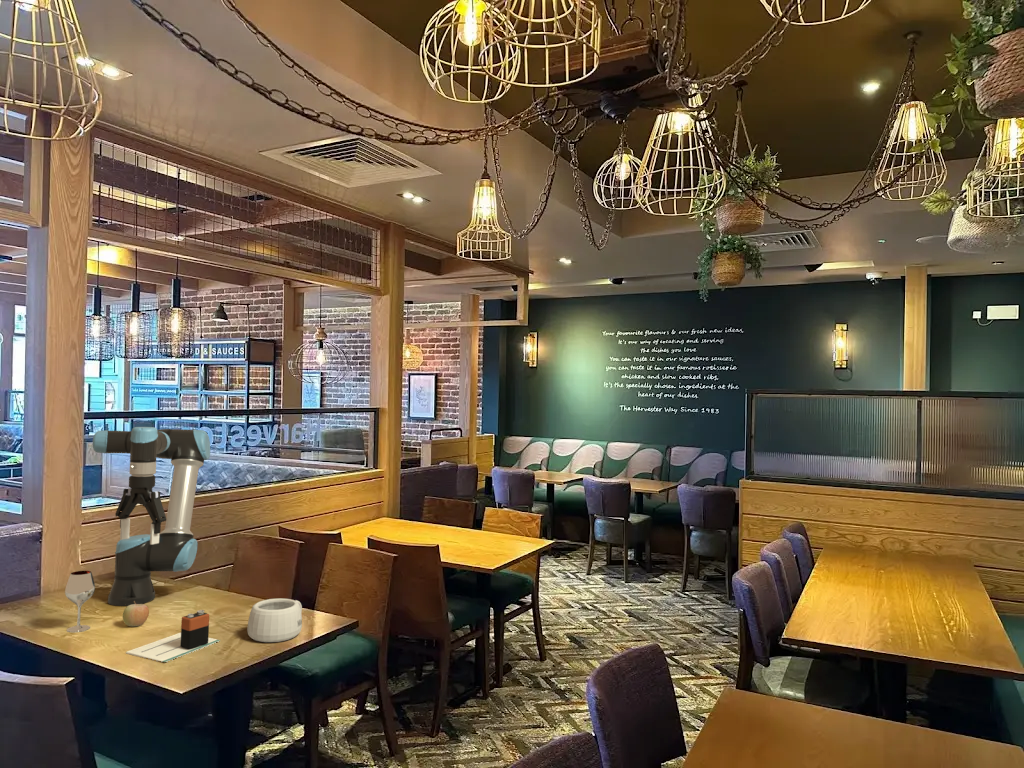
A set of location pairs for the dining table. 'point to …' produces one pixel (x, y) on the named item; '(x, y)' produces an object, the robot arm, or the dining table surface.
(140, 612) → the fruit
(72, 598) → the wineglass
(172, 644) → the order pad
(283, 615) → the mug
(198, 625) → the battery
